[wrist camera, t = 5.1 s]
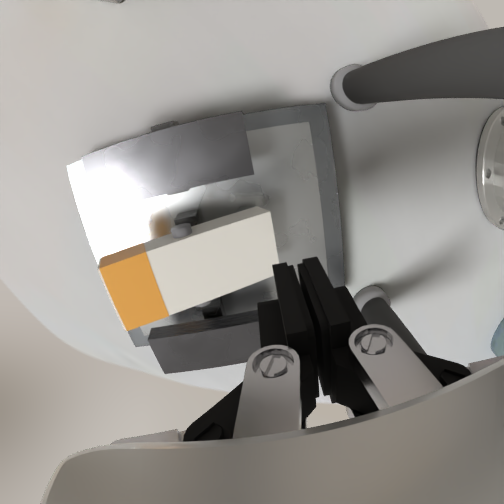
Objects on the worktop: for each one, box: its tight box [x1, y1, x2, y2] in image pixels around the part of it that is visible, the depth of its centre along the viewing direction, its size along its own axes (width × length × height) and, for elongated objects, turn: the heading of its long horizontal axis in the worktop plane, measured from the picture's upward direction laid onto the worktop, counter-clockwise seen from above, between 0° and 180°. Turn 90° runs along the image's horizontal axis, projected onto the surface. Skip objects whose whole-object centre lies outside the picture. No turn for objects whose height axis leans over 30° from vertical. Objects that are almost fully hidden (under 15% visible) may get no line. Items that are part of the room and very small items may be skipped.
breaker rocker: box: [97, 206, 279, 331], centre depth 15 cm, size 9×4×2 cm, turn 101°
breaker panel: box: [66, 103, 345, 374], centre depth 18 cm, size 16×15×6 cm
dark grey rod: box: [353, 286, 427, 355], centre depth 16 cm, size 3×3×18 cm
